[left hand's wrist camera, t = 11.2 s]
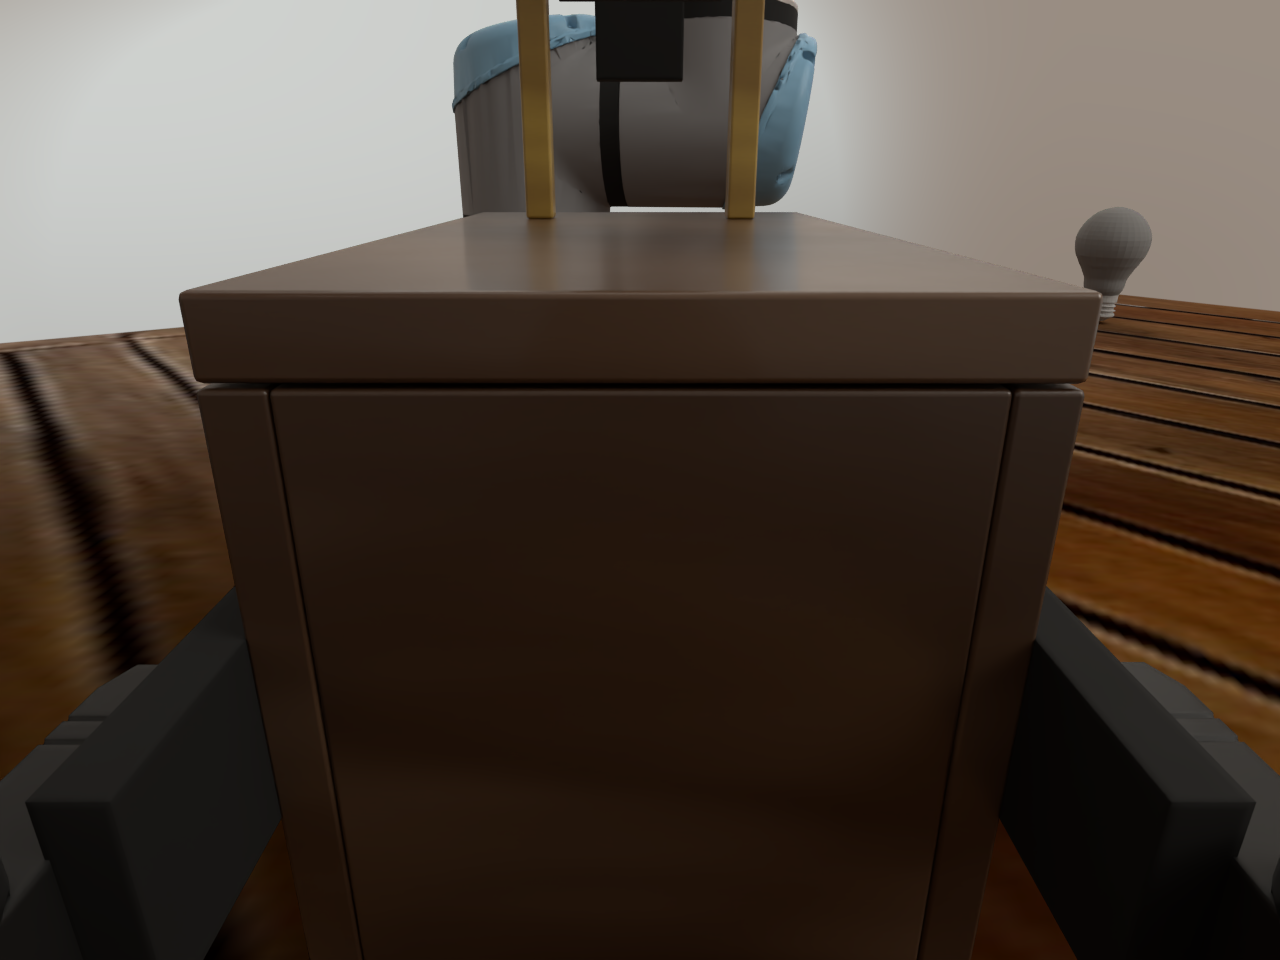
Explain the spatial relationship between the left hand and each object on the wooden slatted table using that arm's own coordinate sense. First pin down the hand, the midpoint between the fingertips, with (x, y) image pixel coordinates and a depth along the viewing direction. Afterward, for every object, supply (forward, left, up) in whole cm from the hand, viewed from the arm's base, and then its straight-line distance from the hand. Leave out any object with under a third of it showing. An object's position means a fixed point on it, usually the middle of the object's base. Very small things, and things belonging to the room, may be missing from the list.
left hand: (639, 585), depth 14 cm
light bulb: (-22, +74, -7) cm, 77 cm away
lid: (-4, +3, +4) cm, 6 cm away
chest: (-3, +3, -7) cm, 8 cm away
